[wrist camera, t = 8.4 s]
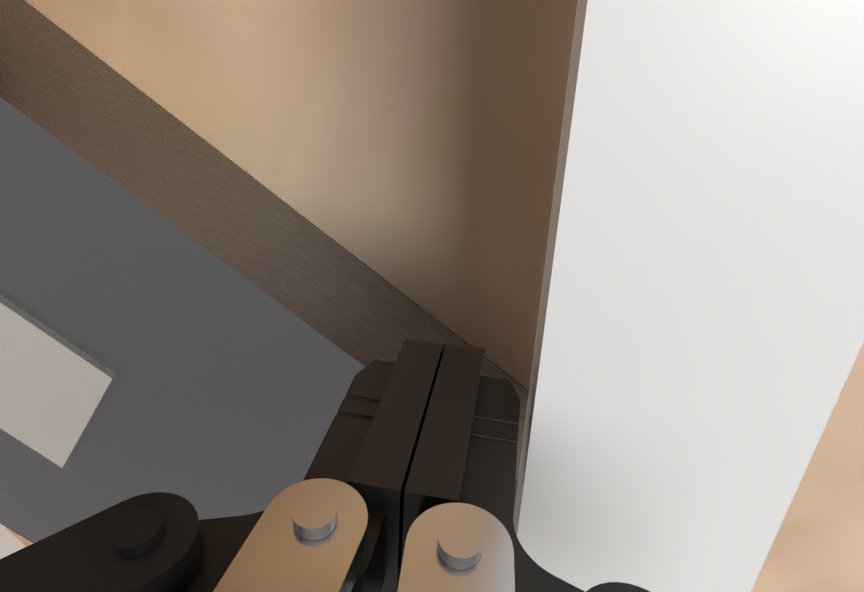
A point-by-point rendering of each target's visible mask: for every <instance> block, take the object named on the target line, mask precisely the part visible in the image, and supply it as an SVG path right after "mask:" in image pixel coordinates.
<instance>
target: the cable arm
mask: <svg viewBox="0 0 864 592" xmlns="http://www.w3.org/2000/svg"><path fill="white" fill-rule="evenodd" d="M863 342H864V0H577V8H576V16H575V24H574V32H573V40H572V48H571V56H570V64H569V72H568V80H567V88H566V96H565V105H564V113H563V121H562V129H561V137H560V145H559V153H558V161H557V169H556V177H555V185H554V193H553V201H552V209H551V217H550V225H549V233H548V241H547V249H546V257H545V265H544V273H543V281H542V289H541V297H540V305H539V313H538V322H537V330H536V338H535V346H534V354H533V362H532V370H531V378H530V386H529V394H528V402H527V410H526V418H525V426H524V434H523V442H522V450H521V458H520V466H519V474H518V482H517V490H516V498H515V506H514V514H513V524H514V529H515V533H516V535H517V538H518V540H519V542H520V544H521V545H522V547H523V549H524V550H525V551H526V553H527V554H528V555H529V556H530V557H531V558H532V559H533V560H534V561H535V562H536V563H537V564H538V565H539V566H540V567H542V568H543V569H544V570H546V571H547V572H549V573H551V574H552V575H554V576H556V577H558V578H560V579H562V580H564V581H566V582H567V583H569V584H571V585H573V586H575V587H577V588H579V589H581V590H583V591H585V592H586V591H587V590H589V589H590V588H592V587H594V586H596V585H599V584H602V583H607V582H622V583H629V584H632V585H635V586H639V587H641V588H643V589H646V590H648V591H650V592H751V590H752V588H753V585H754V583H755V581H756V579H757V577H758V574H759V572H760V570H761V568H762V566H763V563H764V561H765V559H766V557H767V554H768V552H769V550H770V548H771V546H772V543H773V541H774V539H775V537H776V534H777V532H778V530H779V528H780V526H781V523H782V521H783V519H784V517H785V515H786V512H787V510H788V508H789V506H790V503H791V501H792V499H793V497H794V495H795V492H796V490H797V488H798V486H799V484H800V481H801V479H802V477H803V475H804V472H805V470H806V468H807V466H808V464H809V461H810V459H811V457H812V455H813V453H814V450H815V448H816V446H817V444H818V441H819V439H820V437H821V435H822V433H823V430H824V428H825V426H826V424H827V421H828V419H829V417H830V415H831V413H832V410H833V408H834V406H835V404H836V402H837V399H838V397H839V395H840V393H841V390H842V388H843V386H844V384H845V382H846V379H847V377H848V375H849V373H850V371H851V368H852V366H853V364H854V362H855V359H856V357H857V355H858V353H859V351H860V348H861V346H862V344H863Z"/></svg>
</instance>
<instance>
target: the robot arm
mask: <svg viewBox="0 0 864 592" xmlns="http://www.w3.org/2000/svg"><path fill="white" fill-rule="evenodd" d="M484 355H485V349H484V348H477V347H470V346H463V345H456V344H449V343H447V344H446V346H445V343H442V342H435V341H428V340H421V339H414V338H406V339H405V340H404V343H403V345H402V348H401V350H400V353H399V355H398V358H397V360H396V362H395V363H393V362H387V361H380V360H373V361H372V362H371V363H370V364H368V365H367V366H366V367H365V368H363V369H362V370H361V371H359V372H358V373H357V374H356V375H355V377H354V379H353V381H352V383H351V385H350V387H349V389H348V391H347V393H346V396H345V398H344V399H343V401H342V403H341V405H340V407H339V409H338V412H337V415H335V417H334V419H333V421H332V423H331V425H330V427H329V429H328V431H327V433H326V435H325V437H324V439H323V441H322V443H321V445H320V447H319V449H318V451H317V453H316V455H315V457H314V459H313V461H312V463H311V466H310V468H309V470H308V472H307V474H306V476H305V478H304V479H303V481H301V482H299V483H296V484H293V485H292V486H290V487H288V488H286V489H285V490H283V491H282V492H280V493H279V494H278V495H277V496H276V497H275V498H274V499H273V500H272V501H271V502H270V504H269V505H268V506H267V508H266V509H265V510H264V511H261V512H257V513H253V514H248V515H242V516H232V517H222V518H213V519H203V520H199V519H198V514H197V512H196V510H195V507H194V506H193V505H192V504H191V503H190V502H189V501H188V500H187V499H185V498H184V497H181V496H179V495H176V494H172V493H166V492H154V493H147V494H141V495H138V496H135V497H132V498H129V499H127V500H124V501H122V502H120V503H118V504H116V505H114V506H111V507H109V508H107V509H105V510H103V511H101V512H99V513H97V514H95V515H93V516H90V517H88V518H86V519H84V520H82V521H80V522H78V523H76V524H74V525H72V526H69V527H67V528H65V529H63V530H61V531H59V532H57V533H55V534H53V535H51V536H48V537H46V538H44V539H42V540H40V541H38V542H36V543H34V544H32V545H30V546H27V547H25V548H23V549H21V550H19V551H17V552H15V553H13V554H11V555H9V556H7V557H4V558H2V559H0V592H585V591H583V590H581V589H579V588H577V587H575V586H573V585H571V584H569V583H567V582H566V581H564V580H562V579H560V578H558V577H556V576H554V575H552V574H551V573H549V572H547V571H546V570H544V569H543V568H542V567H540V566H539V565H538V564H537V563H536V562H535V561H534V560H533V559H532V558H531V557H530V556H529V555H528V554H527V553H526V551H525V550H524V549H523V547H522V545H521V544H520V542H519V540H518V538H517V535H516V533H515V529H514V524H513V507H514V492H515V476H516V461H517V442H518V430H519V414H520V399H519V397H518V395H517V393H516V391H515V389H514V387H513V385H512V383H511V381H510V380H507V379H500V378H493V377H487V376H482V372H483V364H484ZM586 592H650V591H648V590H646V589H643V588H641V587H639V586H635V585H632V584H629V583H622V582H607V583H602V584H599V585H596V586H594V587H592V588H590V589H589V590H587V591H586Z"/></svg>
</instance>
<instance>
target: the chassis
mask: <svg viewBox="0 0 864 592" xmlns="http://www.w3.org/2000/svg"><path fill="white" fill-rule="evenodd" d="M406 338H414V339H421V340H428V341H435V342H442V343H445V346H446V344H447V343H449V344H456V345H463V346H469V345H468V344H467V343H466V342H464V341H463V340H462V339H460V338H459V337H458V336H457V335H455V334H454V333H453V332H451V331H450V330H449V329H447V328H446V327H445V326H444V325H442V324H441V323H440V322H438V321H437V320H436V319H435V318H433V317H432V316H431V315H429V314H428V313H427V312H426V311H424V310H423V309H422V308H420V307H419V306H418V305H416V304H415V303H414V302H413V301H411V300H410V299H409V298H407V297H406V296H405V295H404V294H402V293H401V292H400V291H398V290H397V289H396V288H395V287H393V286H392V285H391V284H389V283H388V282H387V281H385V280H384V279H383V278H382V277H380V276H379V275H378V274H376V273H375V272H374V271H373V270H371V269H370V268H369V267H367V266H366V265H365V264H364V263H362V262H361V261H360V260H358V259H357V258H356V257H354V256H353V255H352V254H351V253H349V252H348V251H347V250H345V249H344V248H343V247H342V246H340V245H339V244H338V243H336V242H335V241H334V240H333V239H331V238H330V237H329V236H327V235H326V234H325V233H323V232H322V231H321V230H320V229H318V228H317V227H316V226H314V225H313V224H312V223H311V222H309V221H308V220H307V219H305V218H304V217H303V216H302V215H300V214H299V213H298V212H296V211H295V210H294V209H292V208H291V207H290V206H289V205H287V204H286V203H285V202H283V201H282V200H281V199H280V198H278V197H277V196H276V195H274V194H273V193H272V192H271V191H269V190H268V189H267V188H265V187H264V186H263V185H261V184H260V183H259V182H258V181H256V180H255V179H254V178H252V177H251V176H250V175H249V174H247V173H246V172H245V171H243V170H242V169H241V168H240V167H238V166H237V165H236V164H234V163H233V162H232V161H230V160H229V159H228V158H227V157H225V156H224V155H223V154H221V153H220V152H219V151H218V150H216V149H215V148H214V147H212V146H211V145H210V144H209V143H207V142H206V141H205V140H203V139H202V138H201V137H199V136H198V135H197V134H196V133H194V132H193V131H192V130H190V129H189V128H188V127H187V126H185V125H184V124H183V123H181V122H180V121H179V120H178V119H176V118H175V117H174V116H172V115H171V114H170V113H168V112H167V111H166V110H165V109H163V108H162V107H161V106H159V105H158V104H157V103H156V102H154V101H153V100H152V99H150V98H149V97H148V96H147V95H145V94H144V93H143V92H141V91H140V90H139V89H137V88H136V87H135V86H134V85H132V84H131V83H130V82H128V81H127V80H126V79H125V78H123V77H122V76H121V75H119V74H118V73H117V72H116V71H114V70H113V69H112V68H110V67H109V66H108V65H106V64H105V63H104V62H103V61H101V60H100V59H99V58H97V57H96V56H95V55H94V54H92V53H91V52H90V51H88V50H87V49H86V48H85V47H83V46H82V45H81V44H79V43H78V42H77V41H75V40H74V39H73V38H72V37H70V36H69V35H68V34H66V33H65V32H64V31H63V30H61V29H60V28H59V27H57V26H56V25H55V24H54V23H52V22H51V21H50V20H48V19H47V18H46V17H44V16H43V15H42V14H41V13H39V12H38V11H37V10H35V9H34V8H33V7H32V6H30V5H29V4H28V3H26V2H25V1H24V0H0V523H1V524H2V525H4V526H6V527H7V528H9V529H11V530H12V531H14V532H16V533H17V534H19V535H20V536H22V537H24V538H25V539H27V540H29V541H30V542H32V543H33V544H34V543H36V542H38V541H40V540H42V539H44V538H46V537H48V536H51V535H53V534H55V533H57V532H59V531H61V530H63V529H65V528H67V527H69V526H72V525H74V524H76V523H78V522H80V521H82V520H84V519H86V518H88V517H90V516H93V515H95V514H97V513H99V512H101V511H103V510H105V509H107V508H109V507H111V506H114V505H116V504H118V503H120V502H122V501H124V500H127V499H129V498H132V497H135V496H138V495H141V494H147V493H154V492H166V493H172V494H176V495H179V496H181V497H184V498H185V499H187V500H188V501H189V502H190V503H191V504H192V505H193V506H194V507H195V510H196V512H197V514H198V519H199V520H203V519H213V518H222V517H232V516H242V515H248V514H253V513H257V512H261V511H264V510H265V509H266V508H267V506H268V505H269V504H270V502H271V501H272V500H273V499H274V498H275V497H276V496H277V495H278V494H279V493H280V492H282V491H283V490H285V489H286V488H288V487H290V486H292V485H293V484H296V483H299V482H301V481H303V479H304V478H305V476H306V474H307V472H308V470H309V468H310V466H311V463H312V461H313V459H314V457H315V455H316V453H317V451H318V449H319V447H320V445H321V443H322V441H323V439H324V437H325V435H326V433H327V431H328V429H329V427H330V425H331V423H332V421H333V419H334V417H335V415H337V412H338V409H339V407H340V405H341V403H342V401H343V399H344V398H345V396H346V393H347V391H348V389H349V387H350V385H351V383H352V381H353V379H354V377H355V375H356V374H357V373H358V372H359V371H361V370H362V369H363V368H365V367H366V366H367V365H368V364H370V363H371V362H372V361H373V360H380V361H387V362H393V363H395V362H396V360H397V358H398V355H399V353H400V350H401V348H402V345H403V343H404V340H405V339H406ZM470 347H471V346H470ZM482 376H487V377H493V378H500V379H507V380H510V381H511V383H512V385H513V387H514V389H515V391H516V393H517V395H518V397H519V399H520V414H519V430H518V442H517V461H516V476H515V492H514V506H515V498H516V490H517V482H518V474H519V466H520V458H521V450H522V442H523V434H524V426H525V418H526V410H527V402H528V394H529V391H528V390H526V389H525V388H524V387H522V386H521V385H520V384H519V383H517V382H516V381H515V380H513V379H512V378H511V377H509V376H508V375H507V374H506V373H504V372H503V371H502V370H500V369H499V368H498V367H497V366H495V365H494V364H493V363H491V362H490V361H489V360H488V359H486V358H485V357H484V364H483V372H482ZM513 514H514V507H513Z"/></svg>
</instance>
